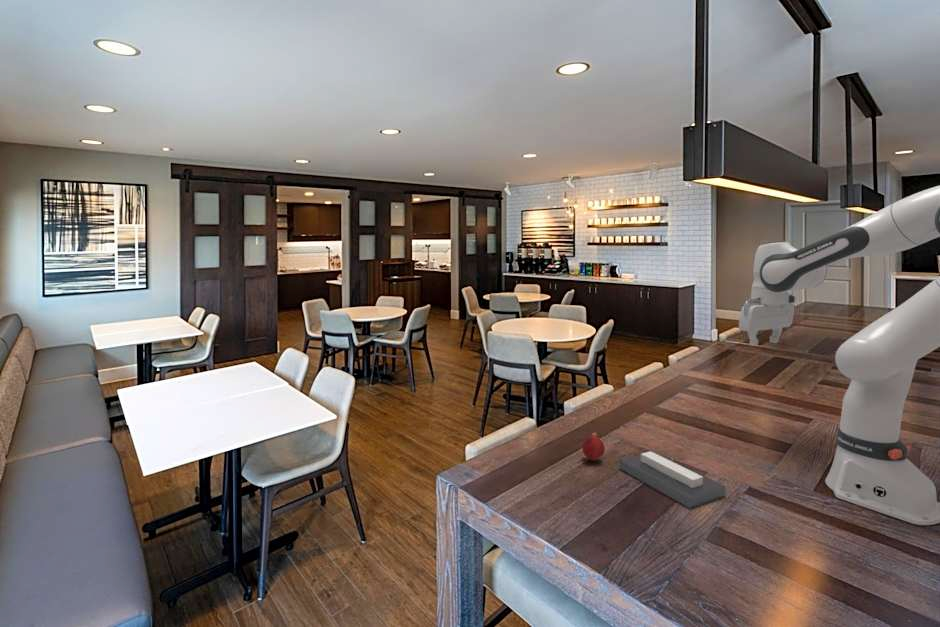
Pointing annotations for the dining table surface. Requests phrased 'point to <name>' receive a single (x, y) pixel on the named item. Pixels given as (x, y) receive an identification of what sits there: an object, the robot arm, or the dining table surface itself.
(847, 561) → the dining table surface
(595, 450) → the onion
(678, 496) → the plate
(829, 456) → the dining table surface
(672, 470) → the strip
